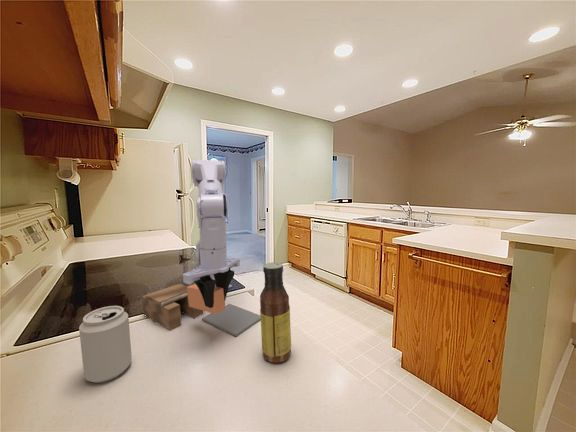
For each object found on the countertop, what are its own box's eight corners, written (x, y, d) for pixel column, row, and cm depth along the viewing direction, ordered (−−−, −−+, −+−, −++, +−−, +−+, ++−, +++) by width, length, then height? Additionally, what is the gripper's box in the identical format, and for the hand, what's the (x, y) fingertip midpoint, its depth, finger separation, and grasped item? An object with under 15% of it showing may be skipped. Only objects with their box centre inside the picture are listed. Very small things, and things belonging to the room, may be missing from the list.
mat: (229, 305, 74) (229, 303, 74) (262, 318, 67) (262, 316, 67) (201, 320, 66) (201, 318, 66) (235, 337, 58) (235, 334, 58)
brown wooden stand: (143, 315, 68) (142, 292, 67) (176, 301, 76) (175, 281, 75) (169, 330, 61) (168, 305, 60) (203, 313, 69) (202, 291, 68)
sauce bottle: (292, 346, 55) (292, 260, 53) (289, 366, 49) (290, 270, 47) (263, 344, 56) (262, 259, 53) (257, 363, 50) (256, 269, 47)
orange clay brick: (189, 306, 61) (186, 286, 61) (199, 301, 64) (197, 283, 63) (215, 314, 56) (212, 292, 55) (225, 308, 58) (223, 287, 58)
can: (114, 386, 44) (108, 324, 42) (73, 386, 44) (66, 323, 43) (140, 357, 51) (136, 303, 50) (105, 357, 51) (100, 302, 50)
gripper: (196, 257, 48) (199, 322, 49) (248, 243, 60) (249, 296, 61) (176, 251, 52) (179, 312, 53) (228, 239, 64) (229, 289, 65)
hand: (215, 303), depth 58 cm, fingers closed on orange clay brick, 3 cm apart
